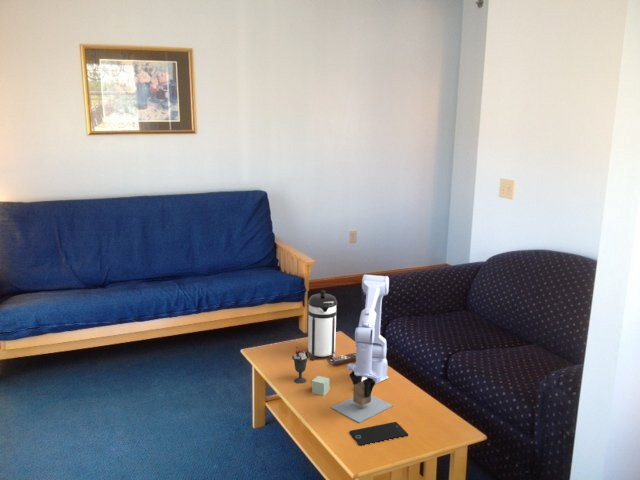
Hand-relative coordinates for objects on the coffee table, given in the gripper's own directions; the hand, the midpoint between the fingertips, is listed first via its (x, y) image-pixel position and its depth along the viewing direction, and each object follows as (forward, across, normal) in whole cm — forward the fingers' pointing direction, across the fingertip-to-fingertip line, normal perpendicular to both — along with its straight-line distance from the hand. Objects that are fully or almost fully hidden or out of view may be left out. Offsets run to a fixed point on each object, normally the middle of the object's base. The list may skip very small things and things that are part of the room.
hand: (362, 393), depth 214 cm
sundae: (+6, -31, -3) cm, 32 cm away
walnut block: (+3, 0, 0) cm, 3 cm away
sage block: (+6, -19, -3) cm, 20 cm away
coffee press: (+6, -45, +21) cm, 50 cm away
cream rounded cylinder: (+5, -10, +11) cm, 16 cm away
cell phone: (+6, +16, -9) cm, 19 cm away
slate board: (+5, 0, 0) cm, 5 cm away
